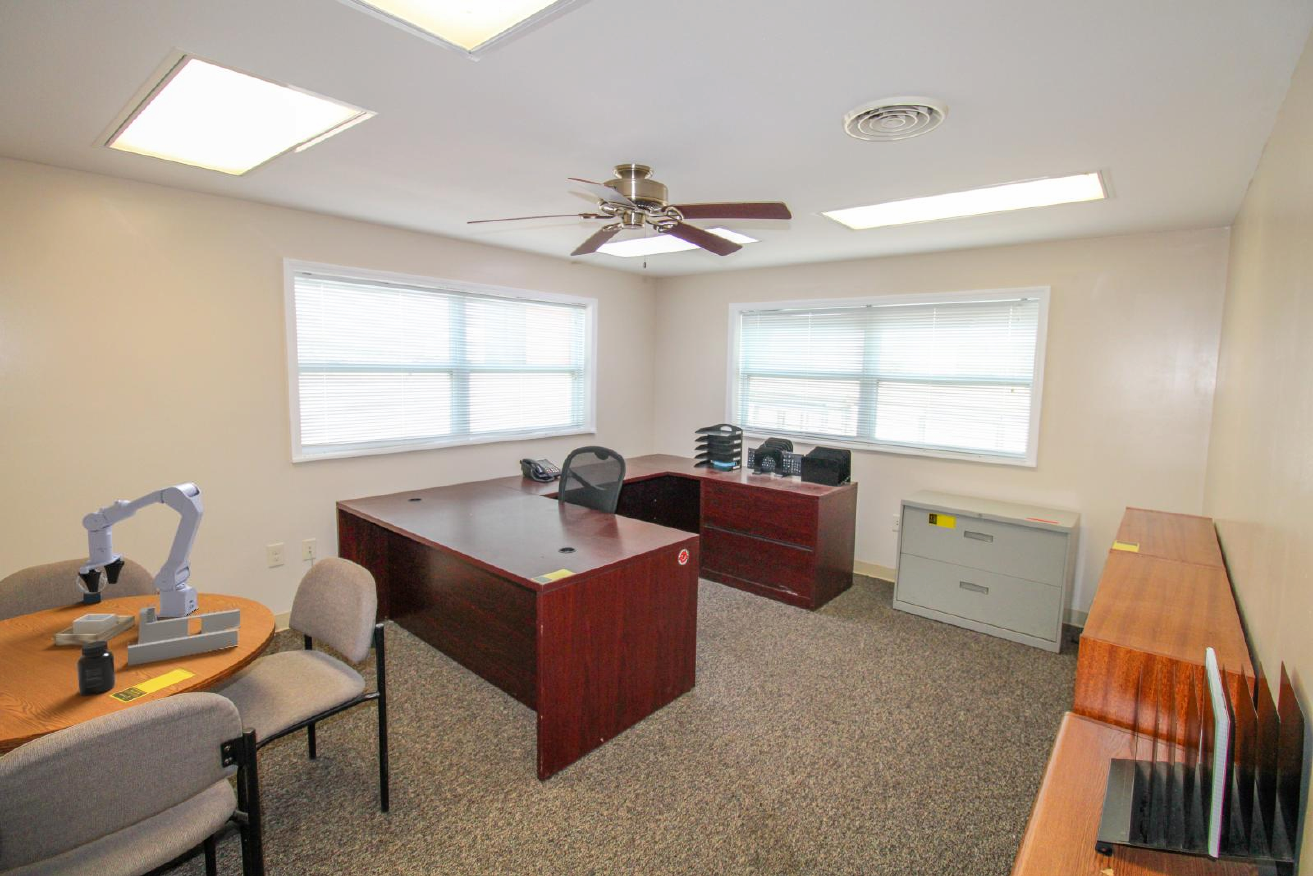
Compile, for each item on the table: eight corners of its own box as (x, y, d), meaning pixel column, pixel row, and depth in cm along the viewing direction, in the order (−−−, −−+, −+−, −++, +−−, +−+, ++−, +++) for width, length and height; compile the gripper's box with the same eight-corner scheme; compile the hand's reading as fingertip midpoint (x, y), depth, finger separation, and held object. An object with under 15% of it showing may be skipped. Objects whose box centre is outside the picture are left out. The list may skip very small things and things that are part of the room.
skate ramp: (128, 667, 165) (126, 632, 164) (143, 635, 184) (141, 604, 183) (238, 647, 179) (236, 615, 178) (241, 620, 198) (240, 591, 197)
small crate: (116, 629, 185) (115, 614, 185) (102, 637, 180) (101, 621, 179) (88, 629, 184) (87, 614, 184) (73, 637, 179) (72, 621, 179)
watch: (108, 601, 208) (107, 570, 207) (76, 606, 202) (74, 575, 201) (108, 596, 212) (106, 566, 211) (77, 601, 206) (75, 570, 205)
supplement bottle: (122, 682, 157) (120, 639, 155) (99, 696, 150) (96, 651, 149) (95, 682, 156) (93, 638, 155) (71, 696, 150) (68, 650, 148)
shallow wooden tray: (135, 625, 190) (134, 615, 190) (98, 645, 176) (97, 635, 176) (94, 625, 189) (93, 615, 188) (54, 645, 175) (53, 635, 174)
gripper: (105, 541, 201) (108, 580, 202) (67, 554, 186) (70, 595, 188) (128, 541, 201) (130, 580, 203) (92, 554, 187) (94, 596, 188)
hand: (103, 587), depth 195 cm, fingers open, 7 cm apart
